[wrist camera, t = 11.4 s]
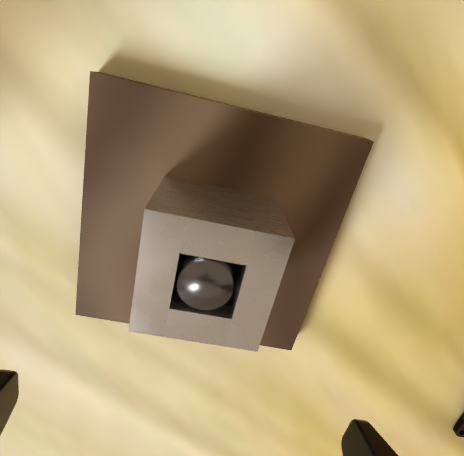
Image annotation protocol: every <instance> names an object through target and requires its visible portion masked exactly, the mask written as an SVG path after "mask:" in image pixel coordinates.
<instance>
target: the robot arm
mask: <svg viewBox="0 0 464 456" xmlns="http://www.w3.org/2000/svg"><path fill="white" fill-rule="evenodd" d="M18 394H19V391H18V374H17V372H15V371H10V370H0V435H1V433H2V431H3V429H4V427H5V425H6V423H7V421H8V419H9V417H10V415H11V413H12V411H13V409H14V407H15V404H16V402H17V399H18ZM453 431H454V432H455V434H456V435H457V436H459V437H464V413H463V415H462V416H461V418H460V419H459V420H458V422H457V423H456V424H455V426H454V427H453ZM341 444H342V452H343V456H398V455H397V454H396V453H395V451H394V450H393V449H392V448H391V447H390V446H389V445H388V443H387V442H386V441H385V440H384V439H383V438H382V437H381V436H380V434H379V433H378V432H377V431H376V430H375V429H374V428H373V426H372V425H371V424H370V423H369V422H367V421H364V420H357V419H354V420H352V421H351V422H350V424H349V426H348V428H347V430H346V431H345V433H344V435H343V437H342V443H341Z"/></svg>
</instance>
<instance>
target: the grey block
mask: <svg viewBox="0 0 464 456" xmlns="http://www.w3.org/2000/svg"><path fill="white" fill-rule="evenodd" d="M294 240H295V238H294V235H293V233H292V231H291V229H290V227H289V225H288V222H287V220H286V218H285V216H284V214H283V212H282V209H281V207H280V205H279V203H278V201H277V199H276V198H271V197H266V196H261V195H257V194H252V193H247V192H243V191H238V190H233V189H228V188H224V187H219V186H214V185H209V184H205V183H200V182H195V181H190V180H186V179H181V178H176V177H172V176H167V175H165V176H164V178H163V180H162V181H161V183H160V184H159V186H158V188H157V189H156V191H155V193H154V194H153V196H152V198H151V199H150V201H149V202H148V204H147V206H146V207H145V209H144V217H143V224H142V232H141V240H140V247H139V255H138V262H137V270H136V278H135V285H134V293H133V301H132V308H131V316H130V323H129V331H130V332H136V333H142V334H149V335H155V336H161V337H168V338H174V339H181V340H187V341H193V342H200V343H206V344H213V345H219V346H225V347H232V348H238V349H244V350H251V351H258V348H259V345H260V342H261V339H262V336H263V333H264V330H265V327H266V324H267V321H268V318H269V315H270V312H271V309H272V306H273V303H274V300H275V297H276V294H277V291H278V288H279V285H280V282H281V279H282V276H283V273H284V270H285V267H286V264H287V261H288V258H289V255H290V252H291V249H292V246H293V243H294ZM183 254H187V255H192V256H198V257H203V258H208V259H214V260H219V261H224V262H230V263H232V266H233V285H234V288H233V293H232V296H231V297H230V299H229V300H228V301H227V302H226V303H225V304H224V305H222V306H221V307H219V308H216V309H212V310H199V309H195V308H193V307H191V306H189V305H187V304H186V303H185V302H184V301H183V300H182V299H181V298H180V296H179V294H178V291H177V281H178V277H179V272H180V268H181V263H182V259H183Z"/></svg>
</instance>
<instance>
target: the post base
mask: <svg viewBox="0 0 464 456" xmlns="http://www.w3.org/2000/svg"><path fill="white" fill-rule="evenodd" d="M372 144H373V141H371V140H368V139H366V138H362V137H358V136H354V135H350V134H346V133H342V132H338V131H334V130H330V129H325V128H321V127H317V126H313V125H309V124H305V123H301V122H297V121H293V120H289V119H285V118H281V117H277V116H273V115H269V114H265V113H261V112H257V111H253V110H249V109H245V108H241V107H237V106H233V105H229V104H225V103H221V102H217V101H213V100H209V99H205V98H201V97H197V96H193V95H189V94H185V93H180V92H176V91H172V90H168V89H164V88H160V87H156V86H152V85H148V84H144V83H140V82H136V81H132V80H128V79H124V78H120V77H116V76H112V75H108V74H104V73H100V72H92V71H90V84H89V100H88V117H87V134H86V150H85V167H84V183H83V200H82V217H81V233H80V250H79V266H78V283H77V300H76V315H81V316H87V317H93V318H99V319H105V320H111V321H117V322H123V323H130V316H131V308H132V301H133V293H134V285H135V278H136V270H137V262H138V255H139V247H140V240H141V232H142V224H143V217H144V209H145V207H146V206H147V204H148V202H149V201H150V199H151V198H152V196H153V194H154V193H155V191H156V189H157V188H158V186H159V184H160V183H161V181H162V180H163V178H164V176H165V175H167V176H172V177H176V178H181V179H186V180H190V181H195V182H200V183H205V184H209V185H214V186H219V187H224V188H228V189H233V190H238V191H243V192H247V193H252V194H257V195H261V196H266V197H271V198H276V199H277V201H278V203H279V205H280V207H281V209H282V212H283V214H284V216H285V218H286V220H287V222H288V225H289V227H290V229H291V231H292V233H293V235H294V238H295V240H294V243H293V246H292V249H291V252H290V255H289V258H288V261H287V264H286V267H285V270H284V273H283V276H282V279H281V282H280V285H279V288H278V291H277V294H276V297H275V300H274V303H273V306H272V309H271V312H270V315H269V318H268V321H267V324H266V327H265V330H264V333H263V336H262V339H261V342H260V345H263V346H269V347H275V348H281V349H287V350H292V347H293V344H294V342H295V339H296V337H297V334H298V332H299V329H300V327H301V324H302V322H303V319H304V317H305V314H306V312H307V309H308V307H309V304H310V301H311V299H312V296H313V294H314V291H315V289H316V286H317V284H318V281H319V279H320V276H321V274H322V271H323V269H324V266H325V263H326V261H327V258H328V256H329V253H330V251H331V248H332V246H333V243H334V241H335V238H336V236H337V233H338V231H339V228H340V225H341V223H342V220H343V218H344V215H345V213H346V210H347V208H348V205H349V203H350V200H351V198H352V195H353V193H354V190H355V188H356V185H357V182H358V180H359V177H360V175H361V172H362V170H363V167H364V165H365V162H366V160H367V157H368V155H369V152H370V150H371V147H372ZM233 288H234V285H233V266H232V263H230V262H224V261H219V260H214V259H208V258H203V257H198V256H192V255H187V254H183V259H182V263H181V268H180V272H179V277H178V281H177V291H178V294H179V296H180V298H181V299H182V300H183V301H184V302H185V303H186V304H187V305H189V306H191V307H193V308H195V309H199V310H212V309H216V308H219V307H221V306H222V305H224V304H225V303H226V302H227V301H228V300H229V299H230V297H231V296H232V293H233Z"/></svg>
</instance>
